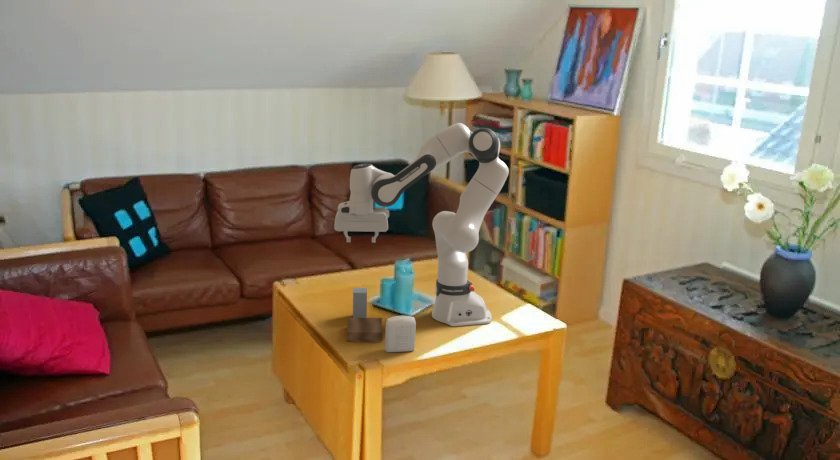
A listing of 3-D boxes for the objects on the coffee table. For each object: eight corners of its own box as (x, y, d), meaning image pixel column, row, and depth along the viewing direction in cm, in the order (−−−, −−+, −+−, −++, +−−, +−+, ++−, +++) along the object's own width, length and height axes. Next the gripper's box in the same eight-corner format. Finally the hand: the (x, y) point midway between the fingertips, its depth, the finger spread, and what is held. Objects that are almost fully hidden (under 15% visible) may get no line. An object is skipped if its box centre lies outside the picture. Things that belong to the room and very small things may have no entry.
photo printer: (413, 346, 249) (414, 312, 245) (416, 351, 245) (417, 317, 241) (383, 348, 246) (384, 314, 243) (386, 353, 242) (386, 319, 239)
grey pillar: (366, 315, 272) (367, 287, 269) (366, 320, 267) (366, 292, 264) (353, 315, 272) (353, 287, 268) (352, 320, 267) (353, 292, 264)
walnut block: (381, 328, 262) (381, 318, 261) (382, 343, 251) (382, 332, 250) (348, 328, 262) (348, 317, 260) (347, 342, 250) (347, 332, 249)
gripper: (389, 205, 274) (388, 239, 278) (334, 204, 273) (334, 239, 277) (389, 209, 268) (388, 245, 272) (333, 208, 267) (333, 244, 271)
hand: (361, 242), depth 275 cm, fingers open, 8 cm apart
